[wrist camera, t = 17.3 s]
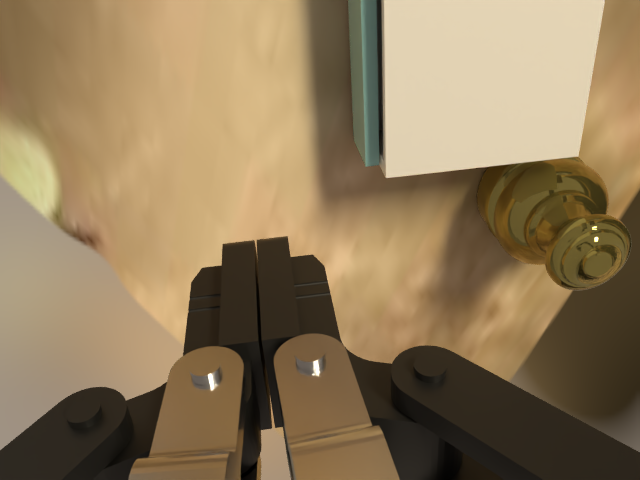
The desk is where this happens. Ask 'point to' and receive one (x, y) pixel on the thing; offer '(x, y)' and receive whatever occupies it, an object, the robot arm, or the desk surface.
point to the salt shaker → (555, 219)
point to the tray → (366, 76)
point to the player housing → (484, 82)
